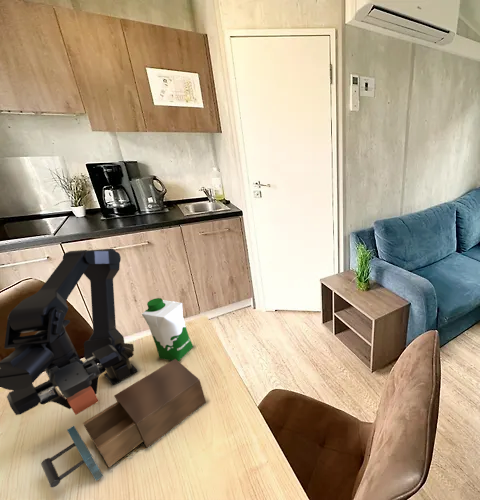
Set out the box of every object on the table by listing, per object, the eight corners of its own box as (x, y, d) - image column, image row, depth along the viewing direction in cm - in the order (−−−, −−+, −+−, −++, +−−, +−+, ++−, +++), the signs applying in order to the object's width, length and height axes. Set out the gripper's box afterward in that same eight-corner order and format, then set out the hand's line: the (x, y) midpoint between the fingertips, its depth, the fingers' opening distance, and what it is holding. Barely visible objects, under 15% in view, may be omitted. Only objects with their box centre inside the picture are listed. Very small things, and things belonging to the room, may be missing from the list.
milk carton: (175, 341, 99) (159, 293, 91) (197, 345, 97) (184, 296, 89) (154, 360, 91) (135, 309, 83) (179, 364, 89) (162, 313, 81)
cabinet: (147, 447, 67) (136, 423, 63) (125, 418, 73) (114, 395, 70) (206, 402, 78) (199, 379, 74) (182, 380, 84) (175, 358, 81)
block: (69, 405, 70) (62, 392, 68) (92, 392, 73) (86, 379, 72) (75, 415, 68) (68, 402, 66) (99, 401, 71) (92, 388, 69)
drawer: (62, 506, 56) (48, 487, 53) (47, 469, 62) (33, 450, 59) (164, 429, 70) (156, 410, 67) (143, 405, 76) (136, 387, 73)
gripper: (1, 401, 53) (38, 453, 59) (119, 342, 67) (139, 390, 73) (-9, 373, 58) (26, 423, 65) (102, 325, 72) (122, 370, 79)
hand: (82, 400), depth 70 cm, fingers closed on block, 4 cm apart
